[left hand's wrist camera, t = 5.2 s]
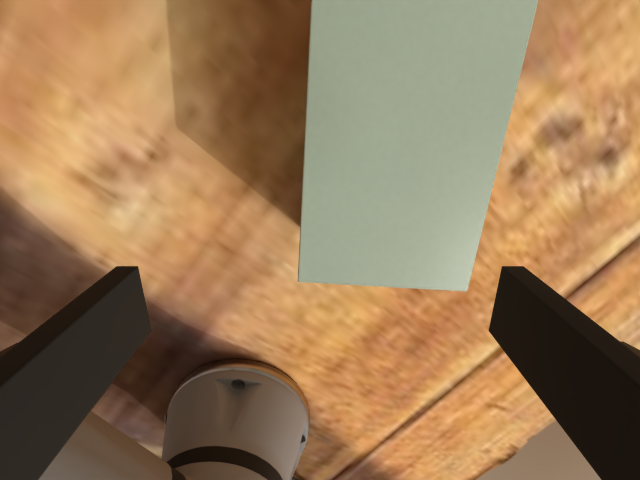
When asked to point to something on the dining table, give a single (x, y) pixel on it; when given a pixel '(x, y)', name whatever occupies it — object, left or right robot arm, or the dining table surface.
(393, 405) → the dining table surface
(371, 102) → the pale green rectangular box
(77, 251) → the dining table surface
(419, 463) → the dining table surface
